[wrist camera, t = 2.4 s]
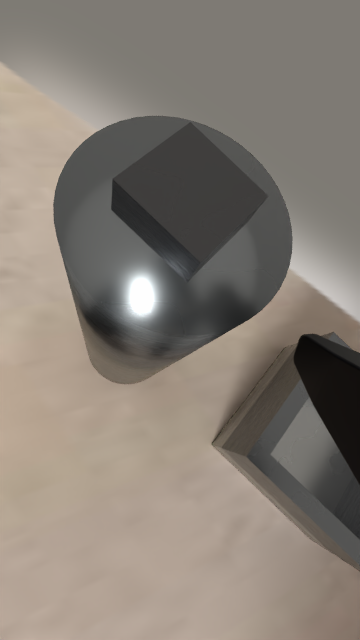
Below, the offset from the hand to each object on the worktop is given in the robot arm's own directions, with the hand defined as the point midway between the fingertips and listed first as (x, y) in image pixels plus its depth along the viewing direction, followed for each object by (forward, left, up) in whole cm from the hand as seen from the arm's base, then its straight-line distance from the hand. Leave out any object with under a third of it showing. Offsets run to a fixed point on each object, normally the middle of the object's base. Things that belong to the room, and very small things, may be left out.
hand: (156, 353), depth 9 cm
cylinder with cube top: (+1, +1, -9) cm, 9 cm away
